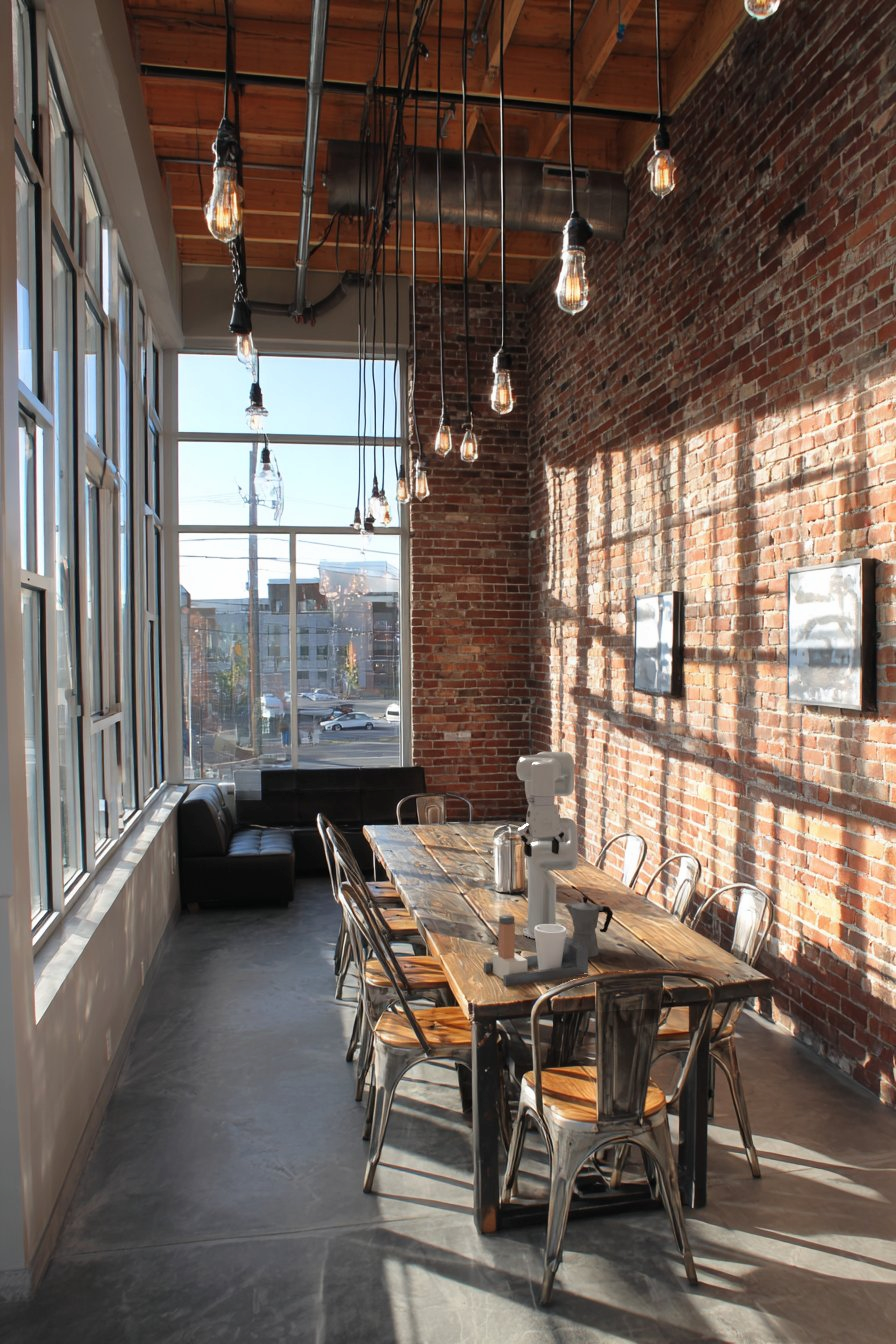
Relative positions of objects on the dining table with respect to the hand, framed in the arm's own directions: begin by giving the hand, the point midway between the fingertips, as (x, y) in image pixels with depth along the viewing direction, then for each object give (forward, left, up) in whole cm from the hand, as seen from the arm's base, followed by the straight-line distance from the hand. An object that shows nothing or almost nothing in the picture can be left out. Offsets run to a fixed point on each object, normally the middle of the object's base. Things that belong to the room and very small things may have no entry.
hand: (541, 854), depth 298 cm
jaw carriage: (+16, -20, -31) cm, 40 cm away
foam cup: (+16, -6, -32) cm, 36 cm away
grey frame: (+16, -11, -32) cm, 37 cm away
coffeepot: (+5, +14, -32) cm, 35 cm away
